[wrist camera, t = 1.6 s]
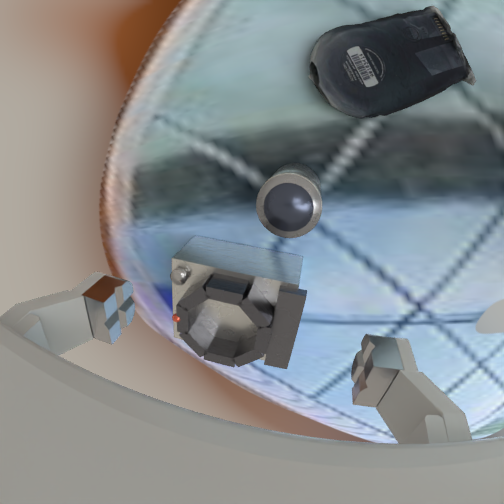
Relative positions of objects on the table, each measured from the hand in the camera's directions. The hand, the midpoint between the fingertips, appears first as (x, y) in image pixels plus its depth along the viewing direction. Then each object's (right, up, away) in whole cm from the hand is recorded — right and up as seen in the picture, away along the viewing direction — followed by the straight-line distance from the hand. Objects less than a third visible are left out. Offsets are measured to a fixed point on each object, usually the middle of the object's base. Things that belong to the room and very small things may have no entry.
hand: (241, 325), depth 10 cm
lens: (+5, +9, +19) cm, 22 cm away
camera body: (-1, -1, +25) cm, 25 cm away
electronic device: (+13, +20, +13) cm, 27 cm away
